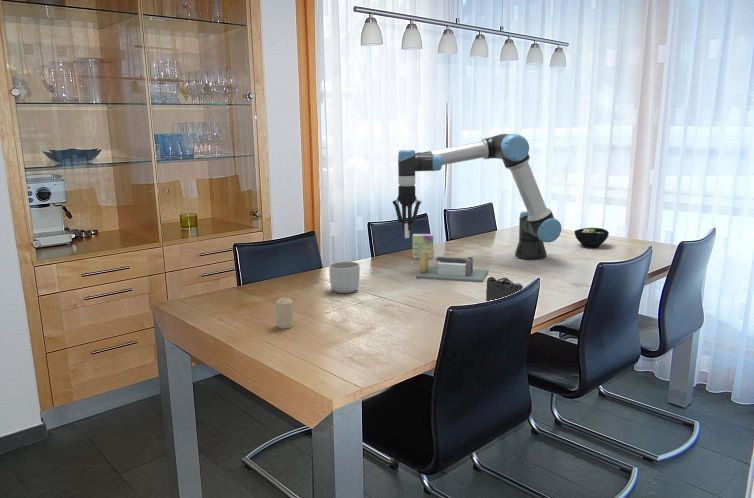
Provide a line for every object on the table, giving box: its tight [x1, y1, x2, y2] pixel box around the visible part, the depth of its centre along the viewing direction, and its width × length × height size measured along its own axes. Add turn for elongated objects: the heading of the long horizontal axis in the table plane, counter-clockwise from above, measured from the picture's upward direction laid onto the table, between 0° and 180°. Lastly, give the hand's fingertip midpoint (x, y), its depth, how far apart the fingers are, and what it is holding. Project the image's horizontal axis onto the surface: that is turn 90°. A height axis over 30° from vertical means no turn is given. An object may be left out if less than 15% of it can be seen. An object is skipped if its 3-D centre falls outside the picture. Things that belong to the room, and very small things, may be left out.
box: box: [412, 233, 434, 260], centre depth 296 cm, size 10×6×12 cm, turn 84°
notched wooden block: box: [419, 249, 435, 272], centre depth 263 cm, size 5×5×9 cm
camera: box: [485, 276, 524, 301], centre depth 217 cm, size 14×11×10 cm
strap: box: [435, 256, 472, 263], centre depth 259 cm, size 15×3×1 cm, turn 72°
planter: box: [328, 261, 360, 294], centre depth 239 cm, size 12×12×11 cm
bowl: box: [574, 227, 610, 249], centre depth 312 cm, size 17×17×10 cm
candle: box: [275, 296, 295, 329], centre depth 197 cm, size 6×6×10 cm
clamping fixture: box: [415, 256, 489, 283], centre depth 260 cm, size 29×18×8 cm, turn 72°
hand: (407, 237), depth 263 cm, fingers closed
